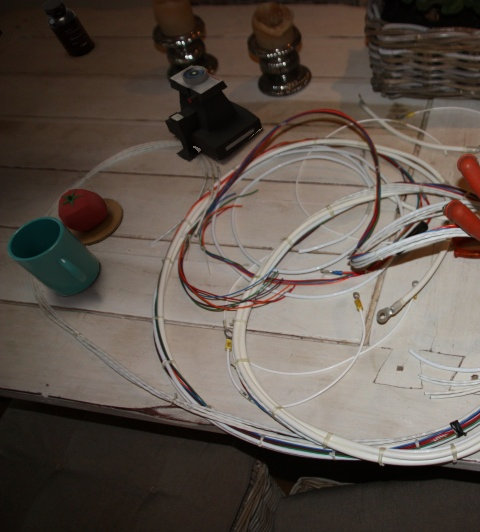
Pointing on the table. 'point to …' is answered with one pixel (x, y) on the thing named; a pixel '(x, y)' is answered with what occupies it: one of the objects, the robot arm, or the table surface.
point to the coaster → (102, 224)
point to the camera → (208, 115)
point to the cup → (53, 256)
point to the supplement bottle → (67, 28)
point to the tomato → (81, 209)
